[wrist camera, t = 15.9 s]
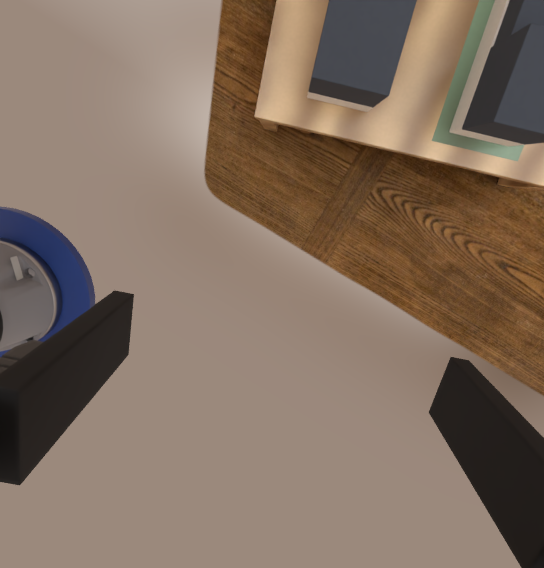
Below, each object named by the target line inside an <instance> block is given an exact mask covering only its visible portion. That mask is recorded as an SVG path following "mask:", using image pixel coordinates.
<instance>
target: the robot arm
mask: <svg viewBox="0 0 544 568" xmlns="http://www.w3.org/2000/svg"><path fill="white" fill-rule="evenodd" d="M133 297H134V294H130V293H125V292H119V291H113V292H112V293H111V294H109V295H108V296H107V297H105V298H104V299H102V300H101V301H100V302H98V303H97V304H95V305H94V306H93V307H91V308H90V309H89V310H87V311H86V312H84V313H83V314H82V315H80V316H79V317H78V318H76V319H75V320H73V321H72V322H71V323H69V324H68V325H66V326H65V327H64V328H62V329H61V330H60V331H58V332H57V333H55V334H54V335H53V336H51V337H50V338H49V339H47V340H46V341H44V342H42V341H38V340H39V339H41V338H42V337H44V336H45V335H46V334H48V333H49V332H50V331H51V330H52V329H53V328H54V327H55V325H56V324H57V322H58V320H59V318H60V315H61V311H62V293H61V289H60V286H59V283H58V280H57V278H56V276H55V274H54V273H53V271H52V269H51V268H50V267H49V265H48V264H47V263H46V262H45V261H44V260H43V259H42V258H41V257H40V256H39V255H38V254H37V253H36V252H34V251H33V250H31V249H30V248H28V247H27V246H25V245H23V244H21V243H19V242H16V241H13V240H10V239H5V238H0V352H1V351H5V350H9V351H8V352H6V353H5V354H3V355H2V357H0V482H4V483H10V484H16V485H20V484H21V483H22V482H23V481H24V480H25V478H26V477H27V476H28V475H29V474H30V473H31V471H32V470H33V469H34V468H35V467H36V465H37V464H38V463H39V462H40V460H41V459H42V458H43V457H44V456H45V454H46V453H47V452H48V451H49V450H50V448H51V447H52V446H53V445H54V444H55V442H56V441H57V440H58V439H59V438H60V436H61V435H62V434H63V433H64V432H65V430H66V429H67V428H68V426H70V424H71V423H72V422H73V421H74V420H75V418H76V417H77V416H78V415H79V413H80V412H81V411H82V410H83V408H85V406H86V405H87V404H88V403H89V401H90V400H91V399H92V398H93V397H94V395H95V394H96V393H97V392H98V391H99V389H100V388H101V387H102V386H103V384H104V383H105V382H106V381H107V380H108V379H109V377H110V376H111V375H112V374H113V372H114V371H115V370H116V369H117V368H118V366H119V365H120V364H121V363H122V362H123V360H124V359H125V358H126V357H127V356H128V353H129V342H130V330H131V319H132V308H133ZM10 349H11V350H10ZM429 413H430V415H431V417H432V418H433V420H434V422H435V423H436V425H437V427H438V429H439V430H440V432H441V433H442V435H443V437H444V438H445V440H446V442H447V444H448V445H449V447H450V449H451V450H452V452H453V454H454V455H455V457H456V459H457V460H458V462H459V464H460V465H461V467H462V469H463V470H464V472H465V474H466V475H467V477H468V479H469V480H470V482H471V484H472V486H473V487H474V489H475V491H476V492H477V494H478V495H479V497H480V499H481V501H482V502H483V504H484V506H485V507H486V509H487V510H488V512H489V514H490V516H491V517H492V519H493V521H494V522H495V524H496V526H497V527H498V529H499V531H500V532H501V534H502V536H503V537H504V539H505V541H506V542H507V544H508V546H509V547H510V549H511V551H512V552H513V554H514V556H515V557H516V559H517V561H518V563H519V564H520V566H521V567H522V568H544V438H543V437H542V436H541V435H540V434H539V433H538V432H537V431H536V430H535V429H534V427H532V425H531V424H530V423H529V422H528V421H527V420H526V419H525V418H524V417H523V416H522V415H521V414H520V413H519V412H518V411H517V410H516V409H515V408H514V407H513V406H512V405H511V404H510V403H509V402H508V401H507V400H506V399H505V398H504V396H503V395H502V394H501V393H500V392H499V391H498V390H497V389H496V388H495V387H494V386H493V385H492V384H491V383H490V382H489V381H488V380H487V379H486V378H485V377H484V376H483V375H482V374H481V373H480V372H479V371H478V370H477V369H476V367H474V365H473V364H472V363H471V362H470V361H469V360H463V359H459V358H454V357H451V358H450V360H449V363H448V365H447V368H446V370H445V373H444V375H443V378H442V380H441V383H440V385H439V388H438V390H437V393H436V395H435V398H434V400H433V403H432V406H431V408H430V411H429Z"/></svg>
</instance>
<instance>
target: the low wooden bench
mask: <svg viewBox="0 0 544 568" xmlns="http://www.w3.org/2000/svg"><path fill="white" fill-rule="evenodd" d="M494 2H495V0H417V2H416V5H415V9H414V12H413V16H412V19H411V22H410V26H409V29H408V33H407V36H406V39H405V43H404V46H403V50H402V53H401V57H400V60H399V63H398V67H397V70H396V74H395V77H394V80H393V84H392V87H391V91H390V94H389V96H388V97H387V98H385V99H384V100H383V101H381V102H380V103H379V104H377V105H376V106H375V107H373V108H372V109H371V110H369V111H368V112H364V111H360V110H356V109H352V108H347V107H343V106H339V105H335V104H331V103H327V102H323V101H318V100H314V99H310V98H307V95H308V90H309V86H310V81H311V76H312V72H313V68H314V63H315V59H316V55H317V50H318V46H319V42H320V37H321V33H322V29H323V24H324V20H325V16H326V11H327V7H328V3H329V0H276V6H275V11H274V16H273V21H272V26H271V32H270V37H269V42H268V47H267V52H266V58H265V63H264V68H263V73H262V78H261V84H260V89H259V94H258V99H257V104H256V110H255V115H254V117H255V118H256V119H258V120H259V121H260V123H261V124H262V126H263V127H264V129H266V130H270V131H274V132H277V130H278V126H279V125H283V126H287V127H291V128H295V129H299V130H304V131H308V132H312V133H316V134H320V135H325V136H329V137H333V138H337V139H341V140H345V141H350V142H354V143H358V144H362V145H366V146H370V147H375V148H379V149H383V150H387V151H391V152H395V153H400V154H404V155H408V156H412V157H416V158H420V159H425V160H429V161H433V162H437V163H441V164H446V165H450V166H454V167H458V168H462V169H466V170H471V171H475V172H479V173H483V174H487V175H491V176H496V177H500V178H499V180H498V183H497V185H500V186H504V187H508V188H520V189H532V190H544V143H536V144H527V145H518V146H504V145H499V144H495V143H491V142H487V141H483V140H479V139H475V138H470V137H466V136H462V135H458V134H454V133H450V132H449V131H450V128H451V125H452V122H453V119H454V116H455V113H456V110H457V108H458V105H459V102H460V99H461V96H462V93H463V90H464V88H465V85H466V82H467V79H468V76H469V73H470V70H471V67H472V65H473V62H474V59H475V56H476V53H477V50H478V47H479V45H480V42H481V39H482V36H483V33H484V30H485V27H486V24H487V22H488V19H489V16H490V13H491V10H492V7H493V4H494Z"/></svg>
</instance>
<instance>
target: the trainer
mask: <svg viewBox="0 0 544 568" xmlns="http://www.w3.org/2000/svg"><path fill="white" fill-rule="evenodd" d="M449 132H450V133H454V134H458V135H462V136H466V137H470V138H475V139H479V140H483V141H487V142H491V143H495V144H499V145H504V146H518V145H527V144H536V143H544V0H495V2H494V4H493V7H492V10H491V13H490V16H489V19H488V22H487V24H486V27H485V30H484V33H483V36H482V39H481V42H480V45H479V47H478V50H477V53H476V56H475V59H474V62H473V65H472V67H471V70H470V73H469V76H468V79H467V82H466V85H465V88H464V90H463V93H462V96H461V99H460V102H459V105H458V108H457V110H456V113H455V116H454V119H453V122H452V125H451V128H450V131H449Z"/></svg>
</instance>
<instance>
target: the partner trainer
mask: <svg viewBox="0 0 544 568" xmlns="http://www.w3.org/2000/svg"><path fill="white" fill-rule="evenodd" d="M416 2H417V0H329V3H328V7H327V11H326V16H325V20H324V24H323V29H322V33H321V37H320V42H319V46H318V50H317V55H316V59H315V63H314V68H313V72H312V76H311V81H310V86H309V90H308V95H307V98H310V99H314V100H318V101H323V102H327V103H331V104H335V105H339V106H343V107H347V108H352V109H356V110H360V111H364V112H368V111H369V110H371V109H372V108H373V107H375V106H376V105H377V104H379V103H380V102H381V101H383V100H384V99H385V98H387V97H388V96H389V94H390V91H391V87H392V84H393V80H394V77H395V74H396V70H397V67H398V63H399V60H400V57H401V53H402V50H403V46H404V43H405V39H406V36H407V33H408V29H409V26H410V22H411V19H412V16H413V12H414V9H415V5H416Z"/></svg>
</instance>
